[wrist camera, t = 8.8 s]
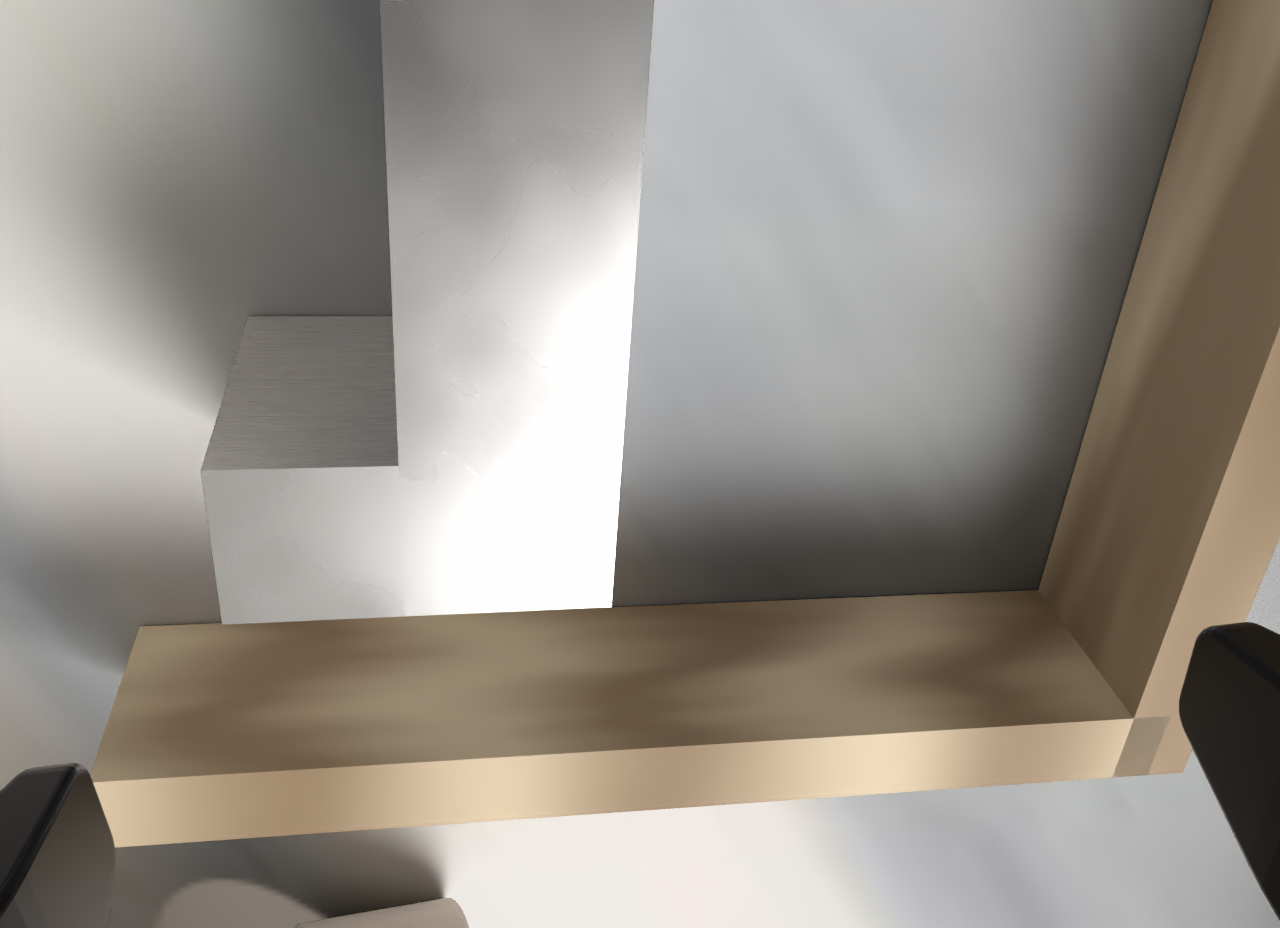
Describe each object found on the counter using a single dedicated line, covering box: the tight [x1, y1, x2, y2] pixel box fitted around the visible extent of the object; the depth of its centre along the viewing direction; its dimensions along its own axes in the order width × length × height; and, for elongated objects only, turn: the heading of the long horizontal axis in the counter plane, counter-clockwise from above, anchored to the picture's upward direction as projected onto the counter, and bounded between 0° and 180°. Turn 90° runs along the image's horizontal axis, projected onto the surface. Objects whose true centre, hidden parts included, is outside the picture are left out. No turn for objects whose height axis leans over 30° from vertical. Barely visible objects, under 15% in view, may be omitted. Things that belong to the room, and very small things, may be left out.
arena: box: [90, 0, 1280, 848], centre depth 17 cm, size 20×23×4 cm
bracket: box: [201, 0, 654, 625], centre depth 17 cm, size 9×6×5 cm, turn 176°
